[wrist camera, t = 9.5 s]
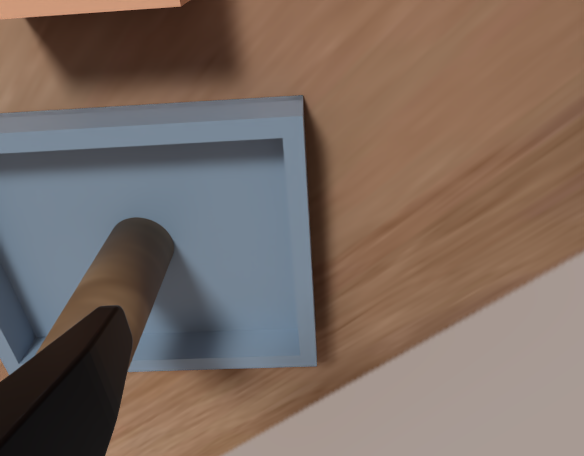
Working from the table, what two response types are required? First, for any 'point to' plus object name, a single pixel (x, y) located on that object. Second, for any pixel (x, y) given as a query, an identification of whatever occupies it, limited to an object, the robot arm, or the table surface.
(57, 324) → the walnut dowel
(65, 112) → the slate tray
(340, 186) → the table surface
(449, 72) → the table surface
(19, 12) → the terracotta socket
